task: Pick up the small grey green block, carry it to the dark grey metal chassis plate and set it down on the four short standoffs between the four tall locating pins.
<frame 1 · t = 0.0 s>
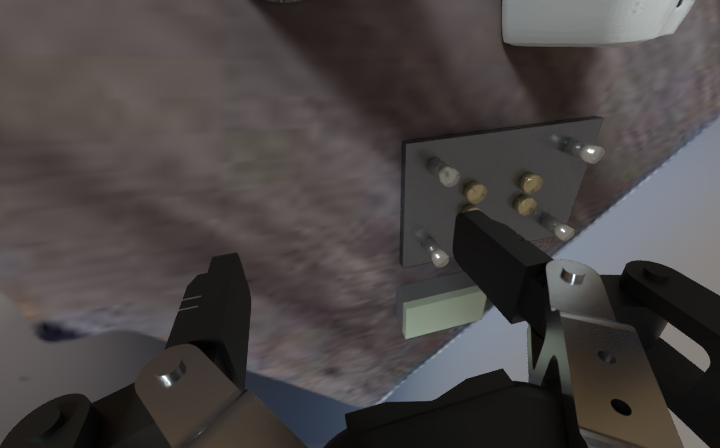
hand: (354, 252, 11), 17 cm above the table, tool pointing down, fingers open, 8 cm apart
chassis: (492, 193, 34), on the table
grey green block: (431, 291, 40), on the table
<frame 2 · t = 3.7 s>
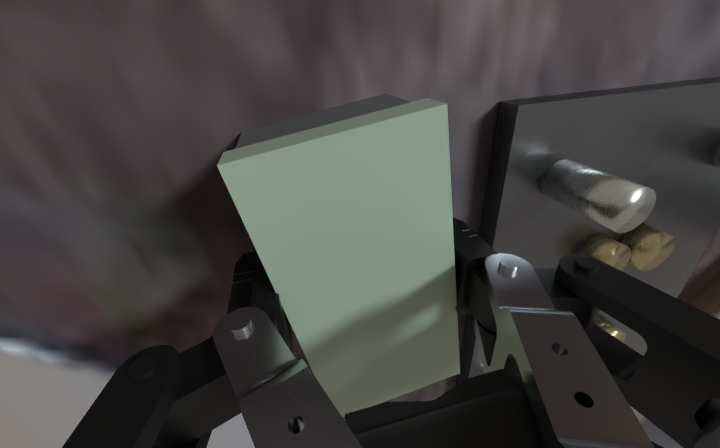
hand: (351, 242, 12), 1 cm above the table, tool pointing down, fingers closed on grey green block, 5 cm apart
chassis: (578, 284, 18), on the table
grey green block: (348, 234, 12), on the table, touching gripper
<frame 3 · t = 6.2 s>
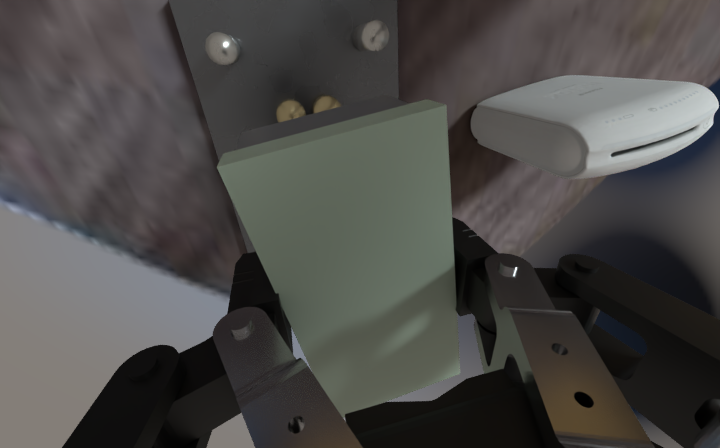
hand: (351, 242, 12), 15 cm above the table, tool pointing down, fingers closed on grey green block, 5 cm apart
chassis: (313, 150, 25), on the table
photo printer: (518, 108, 28), on the table
grey green block: (348, 234, 12), point 15 cm above the table, touching gripper
when the fingers open (3 cm above the table, at t = 8.5 s): grey green block stays where it is, resting on chassis.
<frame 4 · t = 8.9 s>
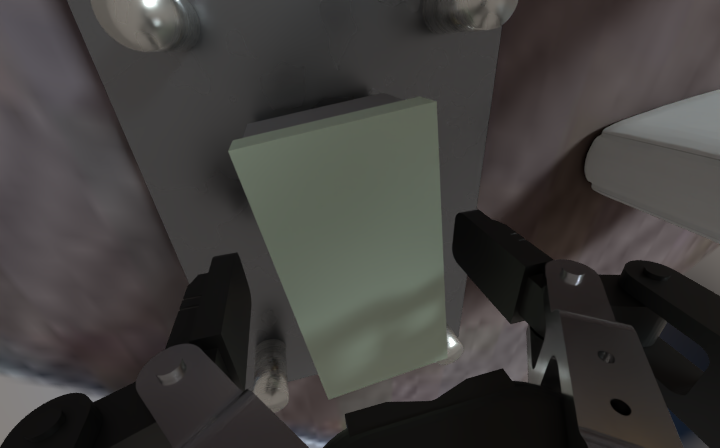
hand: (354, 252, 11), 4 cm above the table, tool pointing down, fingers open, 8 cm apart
chassis: (335, 205, 15), on the table
photo printer: (655, 135, 18), on the table
grey green block: (344, 224, 13), point 2 cm above the table, touching chassis
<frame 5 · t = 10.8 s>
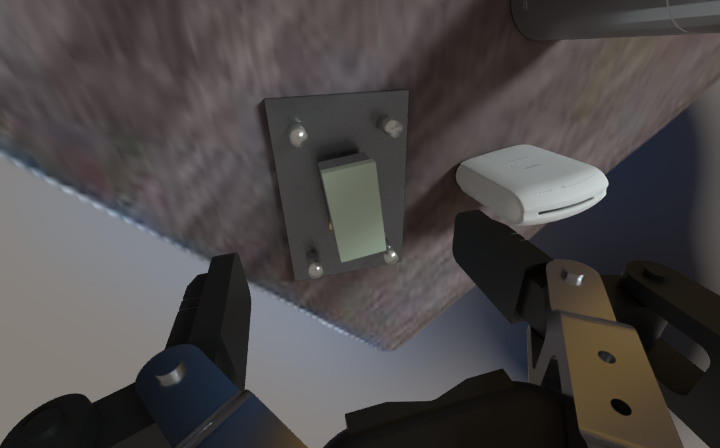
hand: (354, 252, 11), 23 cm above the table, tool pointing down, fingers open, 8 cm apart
chassis: (344, 192, 36), on the table
photo printer: (490, 165, 39), on the table
grey green block: (348, 199, 34), point 2 cm above the table, touching chassis
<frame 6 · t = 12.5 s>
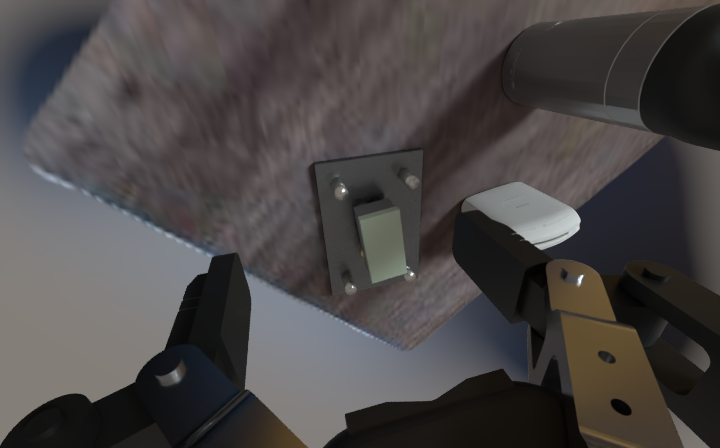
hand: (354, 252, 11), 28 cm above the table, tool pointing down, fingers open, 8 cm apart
chassis: (371, 226, 45), on the table
photo printer: (490, 198, 48), on the table
grey green block: (376, 233, 43), point 2 cm above the table, touching chassis
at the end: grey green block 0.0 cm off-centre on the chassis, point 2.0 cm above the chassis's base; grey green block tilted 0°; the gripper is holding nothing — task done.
